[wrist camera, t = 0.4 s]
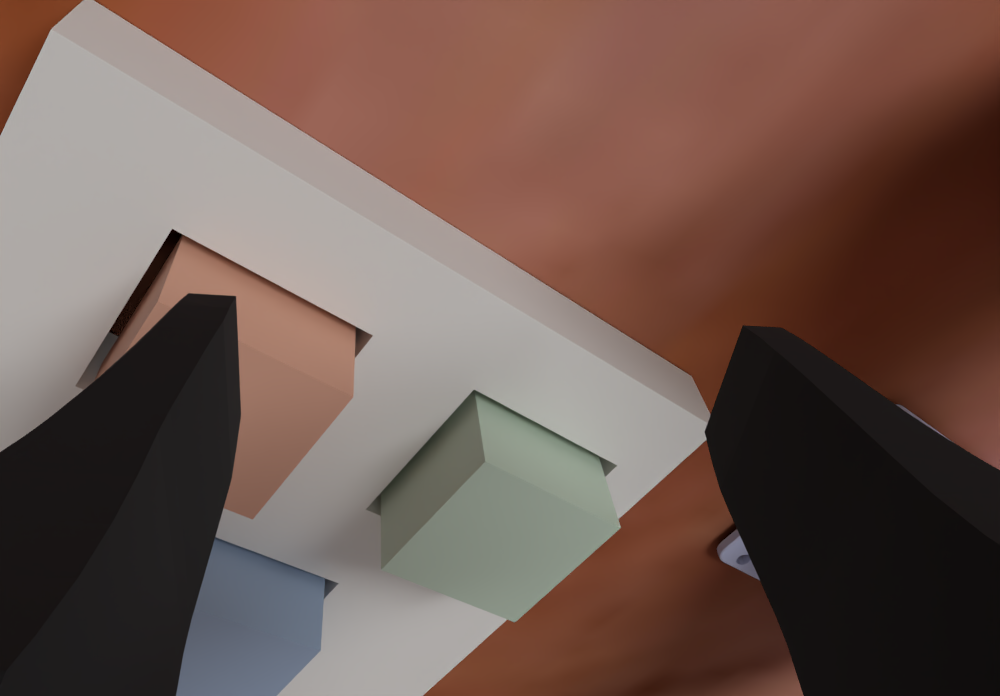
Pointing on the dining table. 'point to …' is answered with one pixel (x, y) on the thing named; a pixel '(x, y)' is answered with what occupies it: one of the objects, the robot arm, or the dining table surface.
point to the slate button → (250, 625)
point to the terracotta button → (260, 364)
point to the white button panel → (322, 281)
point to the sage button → (494, 510)
